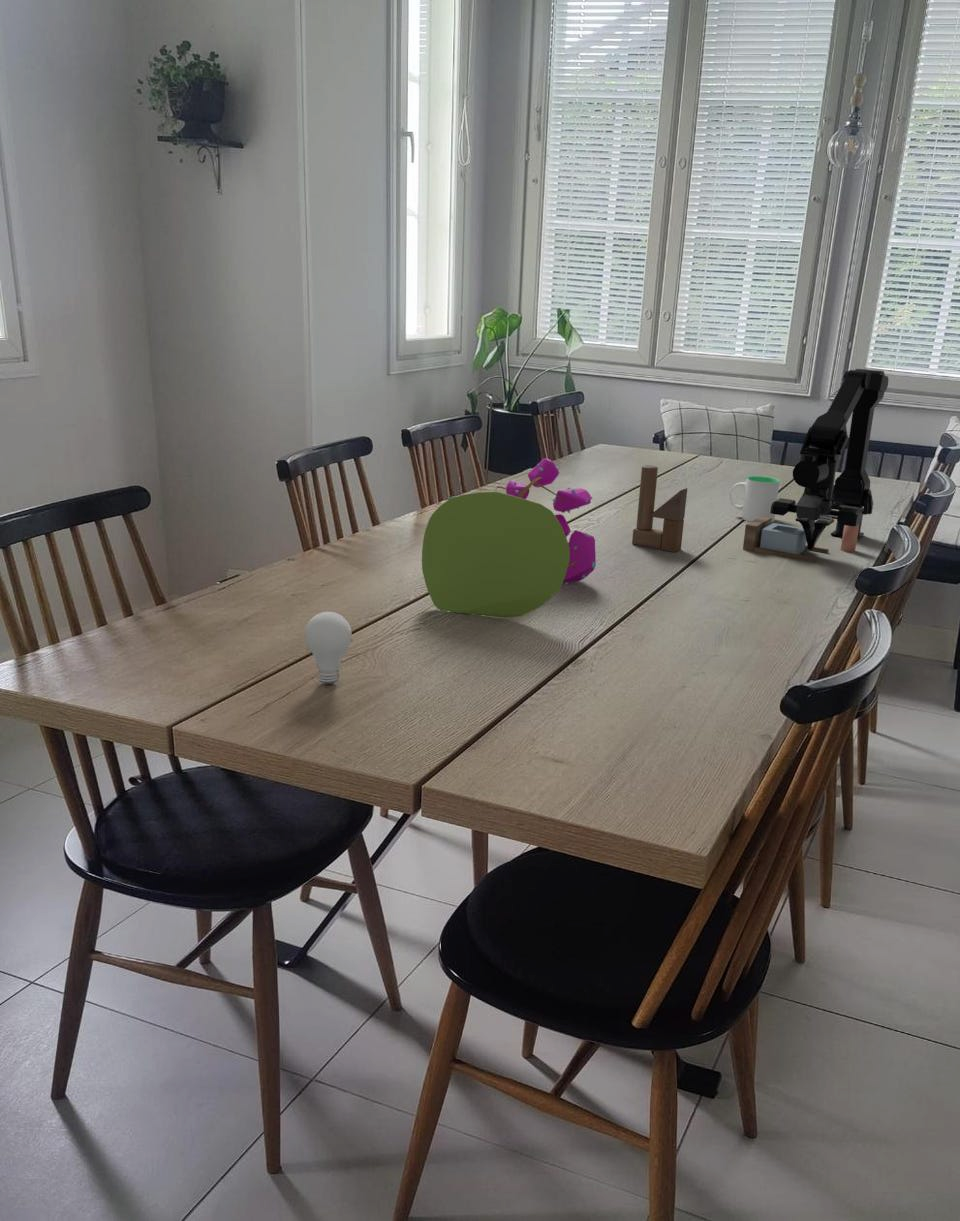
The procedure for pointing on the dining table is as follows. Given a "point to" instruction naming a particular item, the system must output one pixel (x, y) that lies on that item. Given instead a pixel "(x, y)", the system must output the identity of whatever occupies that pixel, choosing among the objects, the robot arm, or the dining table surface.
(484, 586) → the green pad purple flowers
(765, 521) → the track wall
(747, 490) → the mug
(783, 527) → the socket block
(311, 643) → the light bulb
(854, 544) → the pink rectangular block
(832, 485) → the robot arm
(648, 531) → the wooden block
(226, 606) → the dining table surface
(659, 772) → the dining table surface
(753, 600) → the dining table surface
